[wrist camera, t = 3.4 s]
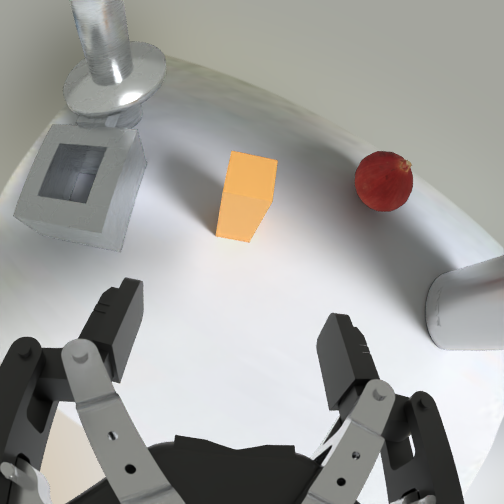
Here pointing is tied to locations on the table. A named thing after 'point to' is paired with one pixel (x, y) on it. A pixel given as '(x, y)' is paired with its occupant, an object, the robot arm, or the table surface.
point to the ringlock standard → (95, 134)
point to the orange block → (245, 195)
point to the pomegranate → (384, 181)
